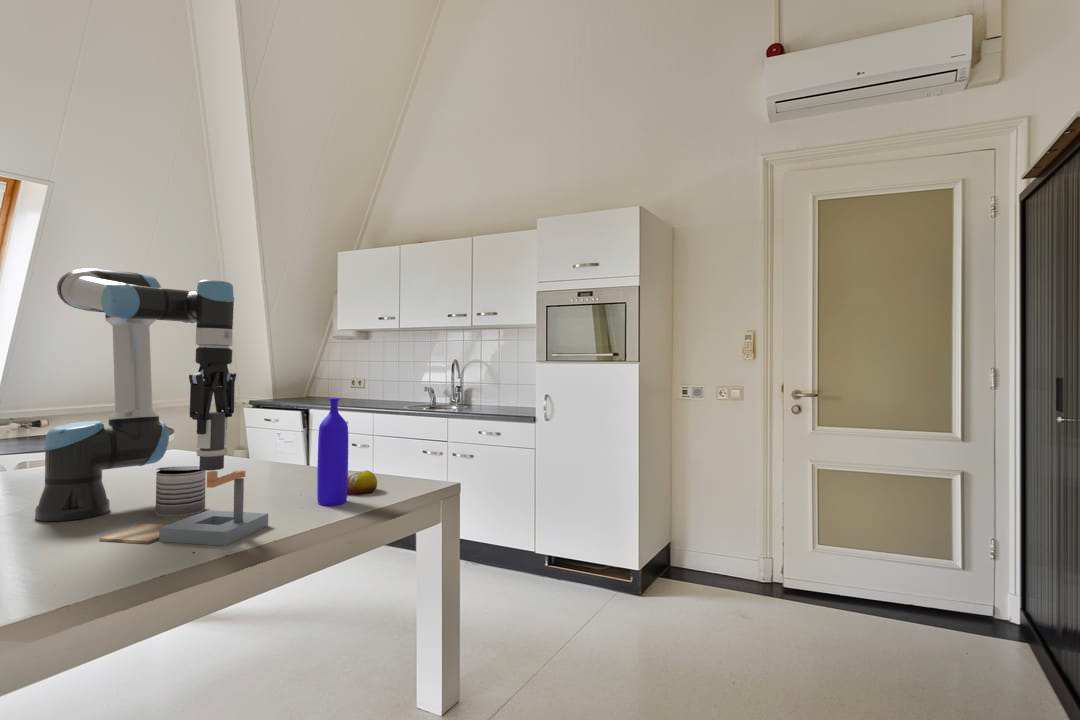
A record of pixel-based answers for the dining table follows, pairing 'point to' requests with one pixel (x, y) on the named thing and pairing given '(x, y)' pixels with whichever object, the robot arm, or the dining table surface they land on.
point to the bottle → (332, 458)
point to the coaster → (136, 534)
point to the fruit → (361, 483)
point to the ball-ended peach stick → (222, 478)
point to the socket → (216, 524)
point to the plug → (214, 444)
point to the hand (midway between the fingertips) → (212, 446)
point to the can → (180, 491)
